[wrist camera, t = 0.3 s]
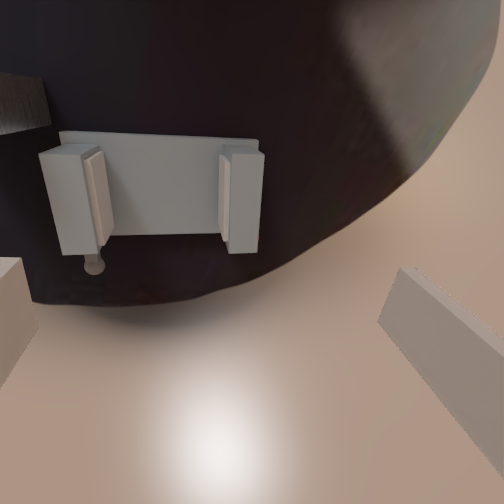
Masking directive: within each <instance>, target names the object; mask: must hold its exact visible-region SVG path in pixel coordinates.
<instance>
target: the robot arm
mask: <svg viewBox="0 0 504 504" xmlns="http://www.w3.org/2000/svg"><path fill="white" fill-rule="evenodd" d="M377 322H378V323H379V324H380V326H381V327H382V328H383V330H384V331H385V332H386V333H387V334H388V336H389V337H390V338H391V340H392V341H393V342H394V343H395V344H396V346H397V347H398V348H399V349H400V351H401V352H402V353H403V354H404V356H405V357H406V358H407V359H408V361H409V362H410V363H411V364H412V366H413V367H414V368H415V369H416V371H417V372H418V373H419V374H420V376H421V377H422V378H423V379H424V381H425V382H426V383H427V384H428V386H429V387H430V388H431V389H432V391H433V392H434V393H435V394H436V395H437V397H438V398H439V399H440V401H441V402H442V403H443V404H444V406H445V407H446V408H447V409H448V411H449V412H450V413H451V414H452V416H453V417H454V418H455V419H456V421H457V422H458V423H459V424H460V426H461V427H462V428H463V429H464V431H465V432H466V433H467V434H468V436H469V437H470V438H471V439H472V441H474V443H475V444H476V446H477V447H478V448H479V449H480V450H481V452H482V453H483V454H484V456H485V457H486V458H487V459H488V460H489V462H490V463H491V464H492V466H493V467H494V468H495V469H496V470H497V472H498V473H499V474H500V475H501V477H502V478H503V479H504V338H503V337H502V336H500V335H499V334H498V333H497V332H495V331H494V330H493V329H492V328H490V327H489V326H488V325H487V324H485V323H484V322H483V321H482V320H480V319H479V318H478V317H476V316H475V315H474V314H473V313H471V312H470V311H469V310H468V309H467V308H465V307H464V306H463V305H462V304H460V303H459V302H458V301H457V300H455V299H454V298H453V297H452V296H450V295H449V294H448V293H447V292H445V291H444V290H443V289H442V288H440V287H439V286H438V285H437V284H435V283H434V282H433V281H432V280H430V279H429V278H428V277H427V276H425V275H424V274H423V273H422V272H420V271H419V270H418V269H416V268H399V271H398V273H397V276H396V278H395V281H394V283H393V285H392V288H391V290H390V293H389V295H388V297H387V300H386V302H385V304H384V307H383V309H382V312H381V314H380V316H379V319H378V321H377ZM37 330H38V325H37V321H36V317H35V312H34V309H33V304H32V300H31V296H30V292H29V288H28V284H27V280H26V276H25V272H24V267H23V263H22V259H21V258H10V257H0V388H1V387H2V385H3V384H4V382H5V381H6V379H7V377H8V376H9V374H10V373H11V371H12V369H13V368H14V366H15V364H16V363H17V361H18V360H19V358H20V356H21V355H22V353H23V352H24V350H25V348H26V347H27V345H28V344H29V342H30V341H31V339H32V337H33V336H34V334H35V333H36V331H37Z"/></svg>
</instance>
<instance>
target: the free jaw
mask: <svg viewBox="0 0 504 504" xmlns="http://www.w3.org/2000/svg"><path fill="white" fill-rule="evenodd" d="M39 158H40V163H41V167H42V171H43V175H44V179H45V184H46V188H47V192H48V196H49V200H50V204H51V209H52V213H53V217H54V221H55V225H56V229H57V234H58V238H59V242H60V246H61V250H62V254H63V255H82V254H84V256H85V263H84V269H85V271H86V272H87V273H89V274H91V275H98V274H100V273H101V272H103V270H104V268H105V263H104V261H103V260H102V259H101V255H100V249H101V247H102V246H105V244H106V242H107V240H108V238H109V236H110V234H111V232H112V230H113V228H114V220H113V213H112V206H111V200H110V193H109V186H108V179H107V173H106V166H105V159H104V152H103V151H100V149H99V145H94V144H63V145H60V146H58V147H55V148H53V149H50V150H47V151H45V152H42V153H40V154H39Z"/></svg>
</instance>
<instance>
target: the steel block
mask: <svg viewBox="0 0 504 504" xmlns="http://www.w3.org/2000/svg"><path fill="white" fill-rule="evenodd" d="M48 125H52V122H51V118H50V113H49V108H48V103H47V99H46V94H45V89H44V85H43V80H42V79H40V78H33V77H26V76H20V75H13V74H6V73H0V135H2V134H8V133H13V132H18V131H23V130H28V129H33V128H38V127H43V126H48Z"/></svg>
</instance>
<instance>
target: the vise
mask: <svg viewBox="0 0 504 504" xmlns="http://www.w3.org/2000/svg"><path fill="white" fill-rule="evenodd" d="M59 135H60V140H61V145H63V144H94V145H99V149H100V151H103V152H104V159H105V166H106V173H107V179H108V186H109V193H110V200H111V206H112V213H113V220H114V228H113V230H112V232H111V234H110V235H149V234H192V233H221V235H222V239H223V241H225V242H226V246H227V249H228V252H229V254H232V253H257V247H258V240H259V235H258V234H259V221H260V208H261V195H262V182H263V170H264V157H265V155H264V154H263V153H261V152H260V151H258V145H259V141H258V140H257V139H242V138H220V137H197V136H174V135H152V134H129V133H106V132H84V131H61V132H59Z"/></svg>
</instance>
